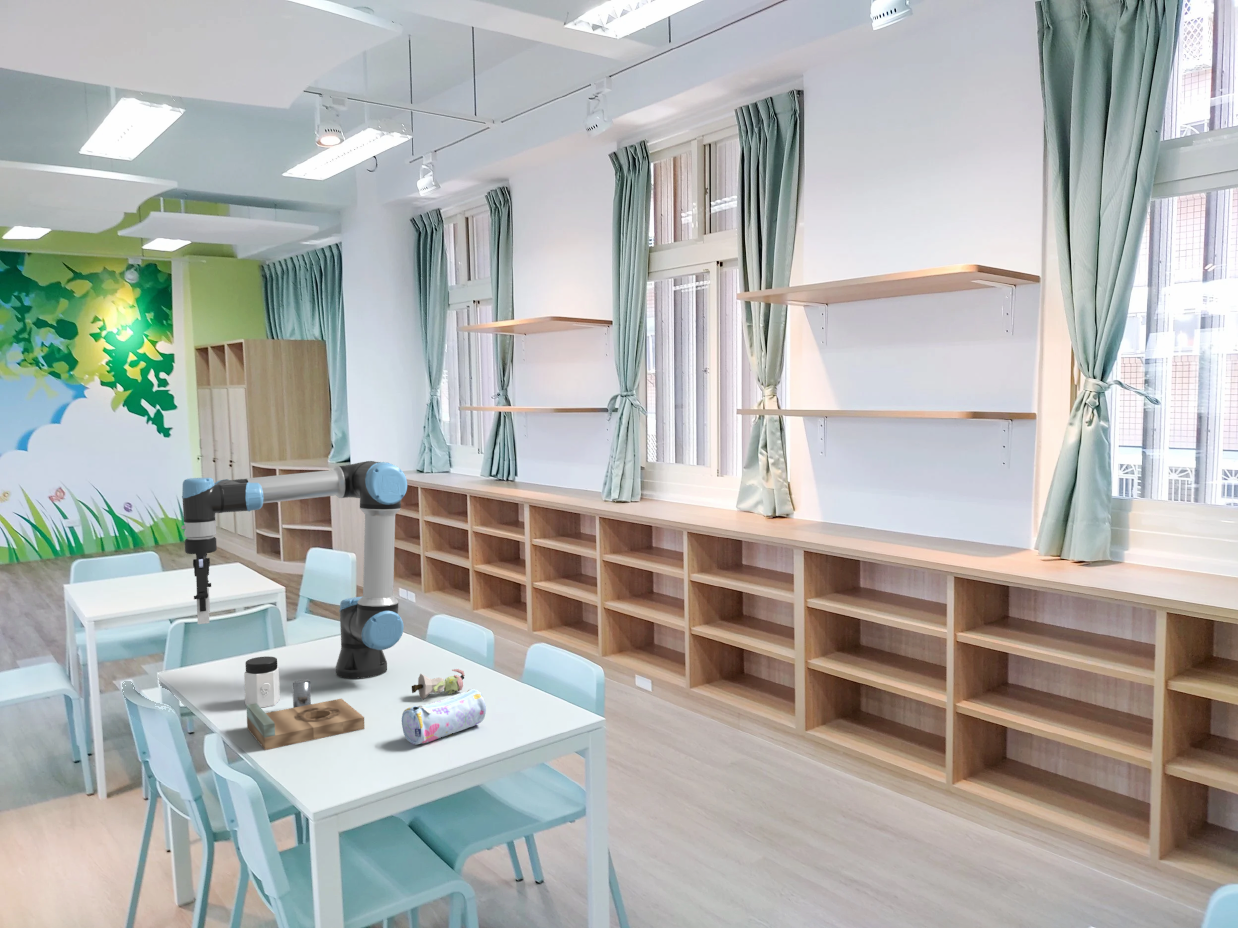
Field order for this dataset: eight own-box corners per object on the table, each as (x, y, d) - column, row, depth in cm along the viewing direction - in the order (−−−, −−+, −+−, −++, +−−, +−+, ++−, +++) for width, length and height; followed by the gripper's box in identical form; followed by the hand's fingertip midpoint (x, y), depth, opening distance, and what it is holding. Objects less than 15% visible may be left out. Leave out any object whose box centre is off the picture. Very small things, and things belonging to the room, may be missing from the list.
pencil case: (417, 750, 215) (416, 710, 214) (397, 740, 221) (396, 702, 220) (489, 727, 230) (488, 690, 229) (468, 719, 236) (468, 683, 235)
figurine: (419, 699, 247) (471, 693, 254) (416, 671, 249) (468, 666, 257) (409, 702, 254) (461, 696, 262) (407, 675, 256) (458, 670, 264)
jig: (341, 709, 244) (341, 687, 244) (364, 728, 229) (363, 705, 229) (247, 728, 231) (246, 704, 230) (265, 749, 216) (264, 725, 215)
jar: (248, 710, 244) (247, 666, 243) (242, 702, 251) (240, 659, 250) (283, 704, 249) (282, 661, 248) (276, 696, 256) (274, 654, 255)
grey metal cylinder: (308, 707, 246) (307, 678, 246) (313, 711, 243) (312, 682, 242) (291, 710, 244) (290, 681, 243) (296, 714, 240) (295, 685, 240)
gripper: (186, 532, 247) (189, 609, 248) (182, 545, 224) (186, 629, 226) (216, 530, 250) (219, 606, 251) (215, 542, 227) (219, 626, 229)
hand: (204, 617), depth 239 cm, fingers open, 13 cm apart
